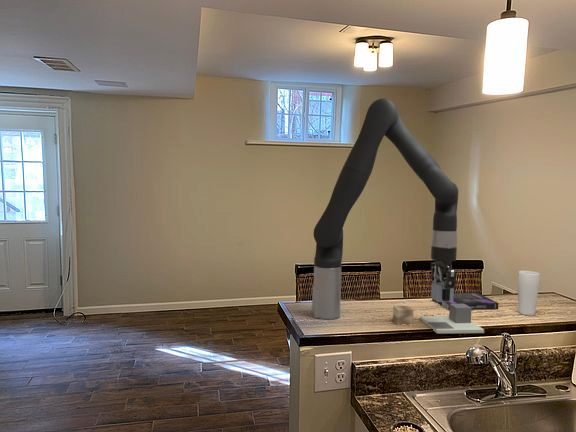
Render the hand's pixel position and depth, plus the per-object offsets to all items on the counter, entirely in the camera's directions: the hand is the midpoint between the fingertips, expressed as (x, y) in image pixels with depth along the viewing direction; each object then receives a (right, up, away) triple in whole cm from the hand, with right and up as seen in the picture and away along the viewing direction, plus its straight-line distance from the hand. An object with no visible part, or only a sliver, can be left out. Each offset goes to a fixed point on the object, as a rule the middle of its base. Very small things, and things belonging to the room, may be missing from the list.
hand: (441, 298), depth 140 cm
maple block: (-11, -9, +6) cm, 16 cm away
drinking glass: (+36, -9, +18) cm, 42 cm away
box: (+19, -9, +29) cm, 36 cm away
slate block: (0, 0, 0) cm, 0 cm away
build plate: (+4, -10, +4) cm, 11 cm away
